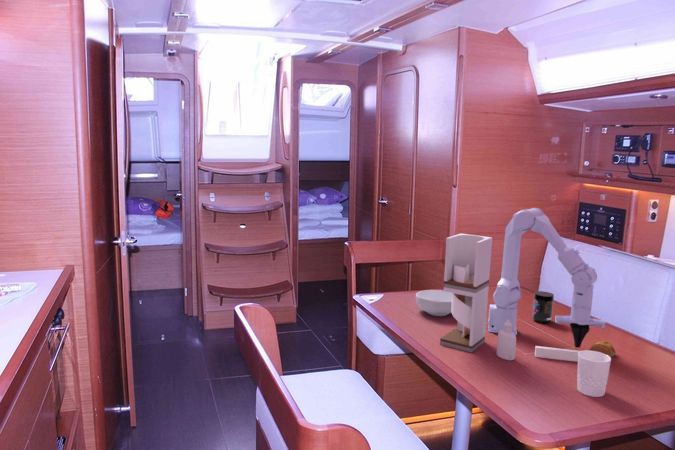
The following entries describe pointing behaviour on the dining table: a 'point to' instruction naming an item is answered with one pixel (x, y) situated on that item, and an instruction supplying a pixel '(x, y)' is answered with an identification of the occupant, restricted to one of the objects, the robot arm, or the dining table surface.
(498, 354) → the eye dropper bottle
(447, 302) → the cereal bowl
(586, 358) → the white cup
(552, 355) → the white rectangular bar
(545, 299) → the supplement container
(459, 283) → the display case
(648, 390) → the dining table surface
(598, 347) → the pastry
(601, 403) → the dining table surface
